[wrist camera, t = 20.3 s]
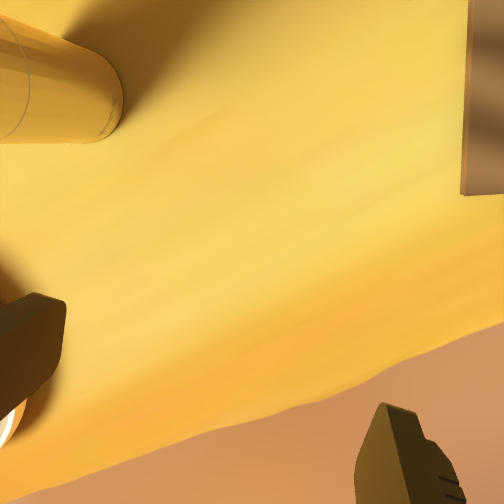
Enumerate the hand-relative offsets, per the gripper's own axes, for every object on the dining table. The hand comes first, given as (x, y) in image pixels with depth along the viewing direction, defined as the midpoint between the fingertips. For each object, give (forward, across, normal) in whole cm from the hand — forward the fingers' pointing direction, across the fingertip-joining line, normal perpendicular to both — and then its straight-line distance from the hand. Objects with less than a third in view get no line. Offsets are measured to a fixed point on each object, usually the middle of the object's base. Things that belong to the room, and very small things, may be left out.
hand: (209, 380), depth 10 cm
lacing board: (+33, -17, -18) cm, 42 cm away
